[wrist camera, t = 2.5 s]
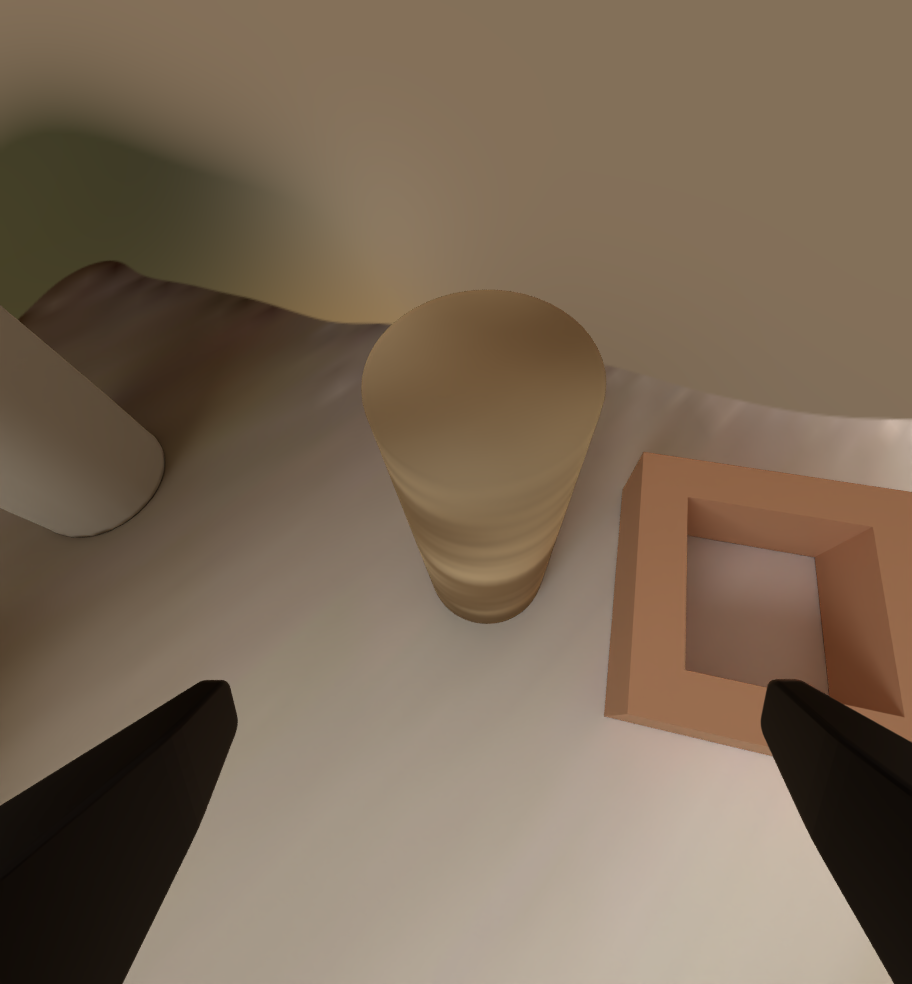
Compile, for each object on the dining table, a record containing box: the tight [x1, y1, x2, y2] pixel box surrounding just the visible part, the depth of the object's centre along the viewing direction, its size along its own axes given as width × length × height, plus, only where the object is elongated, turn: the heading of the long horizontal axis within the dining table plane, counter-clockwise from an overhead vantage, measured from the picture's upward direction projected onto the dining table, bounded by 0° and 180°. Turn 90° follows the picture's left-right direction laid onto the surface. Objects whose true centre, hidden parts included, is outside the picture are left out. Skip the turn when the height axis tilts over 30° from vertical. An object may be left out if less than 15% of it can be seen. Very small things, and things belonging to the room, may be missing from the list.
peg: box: [361, 290, 606, 624], centre depth 16 cm, size 5×5×13 cm
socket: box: [604, 452, 912, 756], centre depth 18 cm, size 10×10×4 cm
